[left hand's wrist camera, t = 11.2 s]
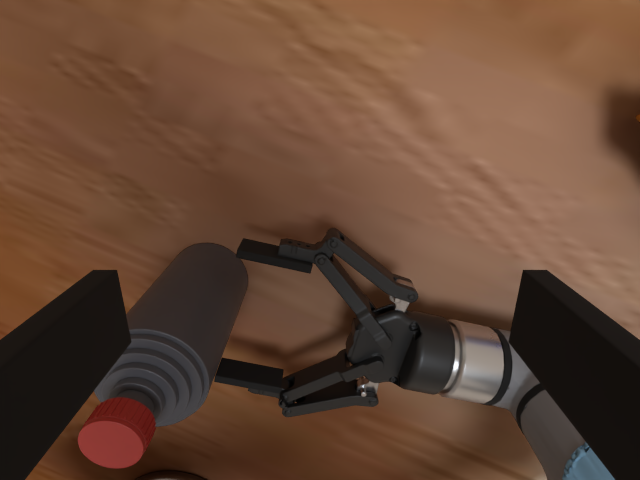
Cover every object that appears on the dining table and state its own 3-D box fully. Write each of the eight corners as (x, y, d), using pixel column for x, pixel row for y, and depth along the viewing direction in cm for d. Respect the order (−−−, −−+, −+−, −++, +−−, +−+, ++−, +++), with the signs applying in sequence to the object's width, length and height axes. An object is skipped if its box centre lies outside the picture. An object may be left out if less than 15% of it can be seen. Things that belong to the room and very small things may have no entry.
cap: (93, 392, 23) (74, 416, 21) (157, 400, 23) (144, 425, 21) (95, 438, 24) (78, 464, 22) (155, 446, 24) (143, 473, 23)
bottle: (173, 236, 40) (33, 372, 21) (252, 249, 41) (189, 394, 21) (170, 305, 43) (46, 480, 24) (244, 316, 44) (182, 496, 24)
